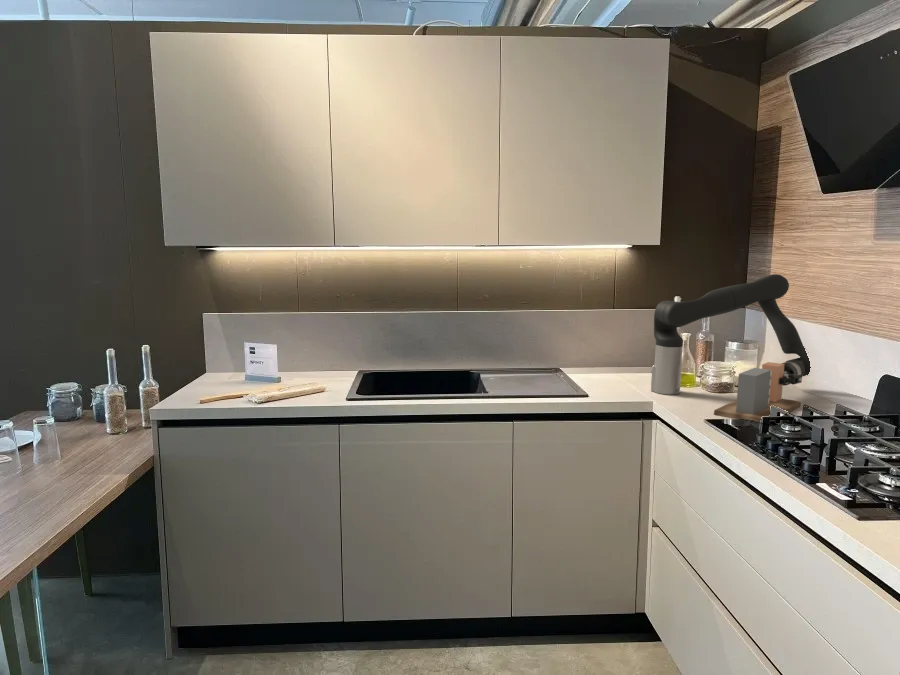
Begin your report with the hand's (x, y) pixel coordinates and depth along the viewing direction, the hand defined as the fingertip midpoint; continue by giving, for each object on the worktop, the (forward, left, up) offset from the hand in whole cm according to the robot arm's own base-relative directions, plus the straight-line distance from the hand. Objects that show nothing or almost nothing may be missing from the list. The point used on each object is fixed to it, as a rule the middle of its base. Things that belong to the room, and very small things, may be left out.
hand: (770, 380), depth 206 cm
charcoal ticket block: (0, -16, -7) cm, 17 cm away
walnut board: (0, -10, -8) cm, 13 cm away
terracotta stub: (0, +1, -7) cm, 7 cm away
